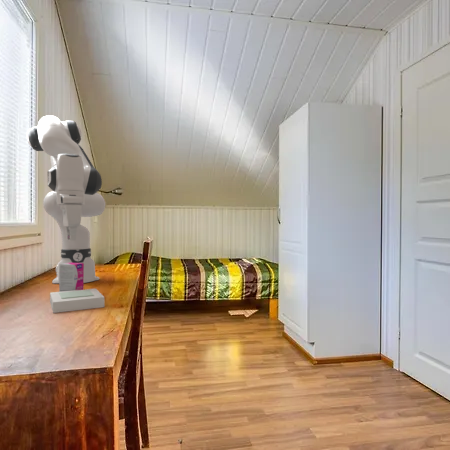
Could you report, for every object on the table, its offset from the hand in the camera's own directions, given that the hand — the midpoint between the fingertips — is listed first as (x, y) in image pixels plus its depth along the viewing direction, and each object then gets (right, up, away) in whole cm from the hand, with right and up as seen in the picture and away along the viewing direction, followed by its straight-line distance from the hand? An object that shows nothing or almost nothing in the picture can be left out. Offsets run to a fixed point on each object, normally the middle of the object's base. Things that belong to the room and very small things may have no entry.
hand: (71, 240), depth 122 cm
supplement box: (0, -20, 0) cm, 20 cm away
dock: (+7, -20, -12) cm, 24 cm away
